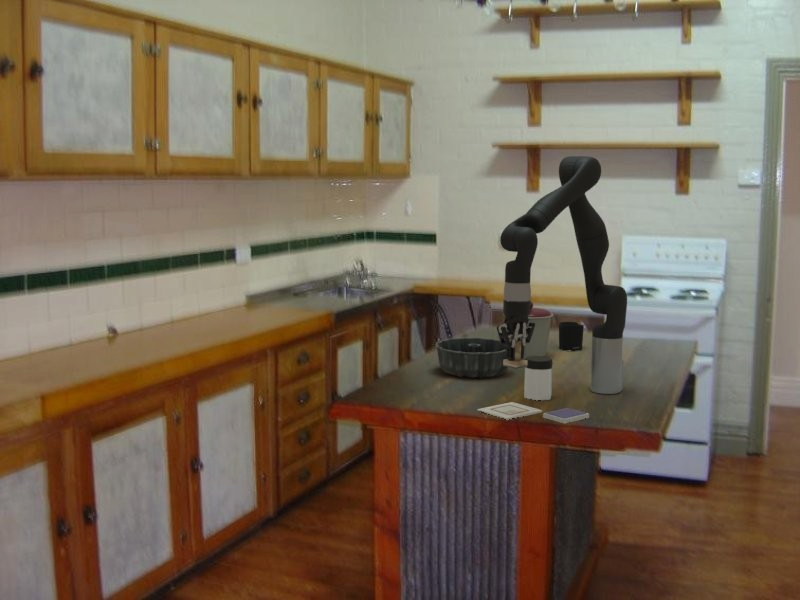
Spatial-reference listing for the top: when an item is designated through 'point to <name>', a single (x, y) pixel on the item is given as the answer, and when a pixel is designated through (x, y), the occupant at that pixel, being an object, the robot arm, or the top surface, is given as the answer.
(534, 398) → the jar
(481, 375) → the bundt pan
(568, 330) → the pen holder
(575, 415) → the ink pad
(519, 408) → the sheet
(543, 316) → the canister
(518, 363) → the stamp
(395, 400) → the top surface
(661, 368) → the top surface
